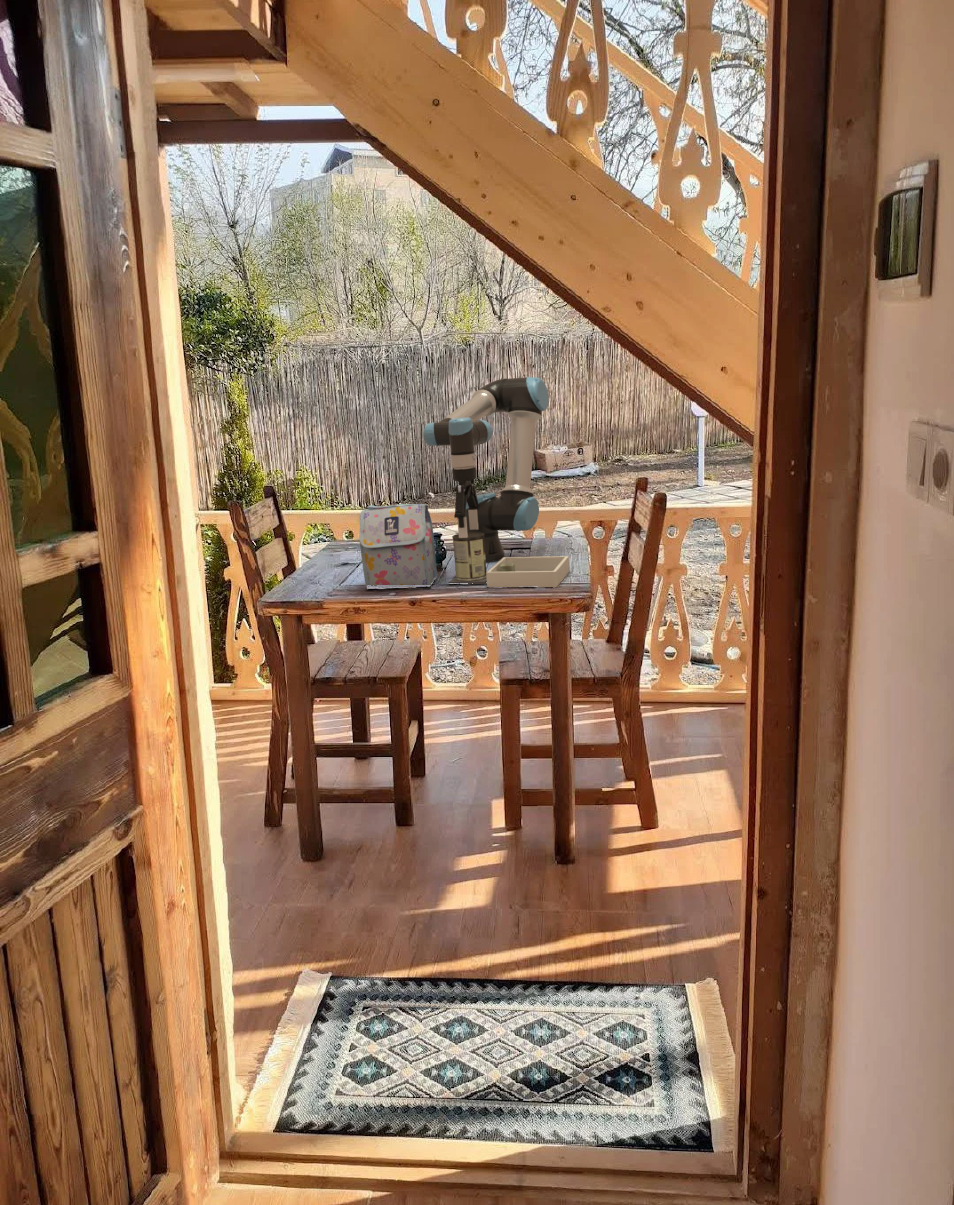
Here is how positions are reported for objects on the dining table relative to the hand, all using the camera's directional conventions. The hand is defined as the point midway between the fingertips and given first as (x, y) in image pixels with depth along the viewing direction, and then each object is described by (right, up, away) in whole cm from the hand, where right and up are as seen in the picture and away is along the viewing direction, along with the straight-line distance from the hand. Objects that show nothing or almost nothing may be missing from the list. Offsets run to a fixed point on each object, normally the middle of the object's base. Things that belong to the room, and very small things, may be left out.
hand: (468, 533), depth 332 cm
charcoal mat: (+1, -15, +3) cm, 16 cm away
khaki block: (+13, -15, +1) cm, 20 cm away
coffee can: (+1, -14, +3) cm, 15 cm away
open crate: (+19, -15, -1) cm, 24 cm away
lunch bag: (-22, -17, +2) cm, 28 cm away
